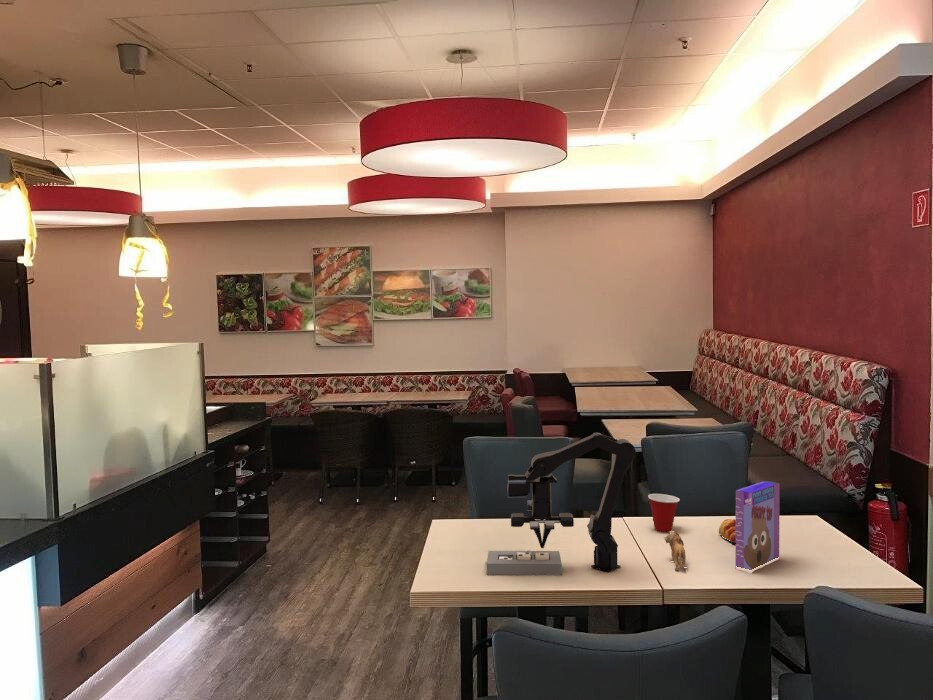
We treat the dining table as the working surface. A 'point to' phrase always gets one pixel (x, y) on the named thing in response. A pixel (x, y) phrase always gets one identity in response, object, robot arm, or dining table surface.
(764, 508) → the cereal box
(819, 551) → the dining table surface
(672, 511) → the plastic cup
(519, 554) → the tile two
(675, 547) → the lion figurine
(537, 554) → the tile one
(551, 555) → the tile board
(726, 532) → the croissant
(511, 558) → the tile three
